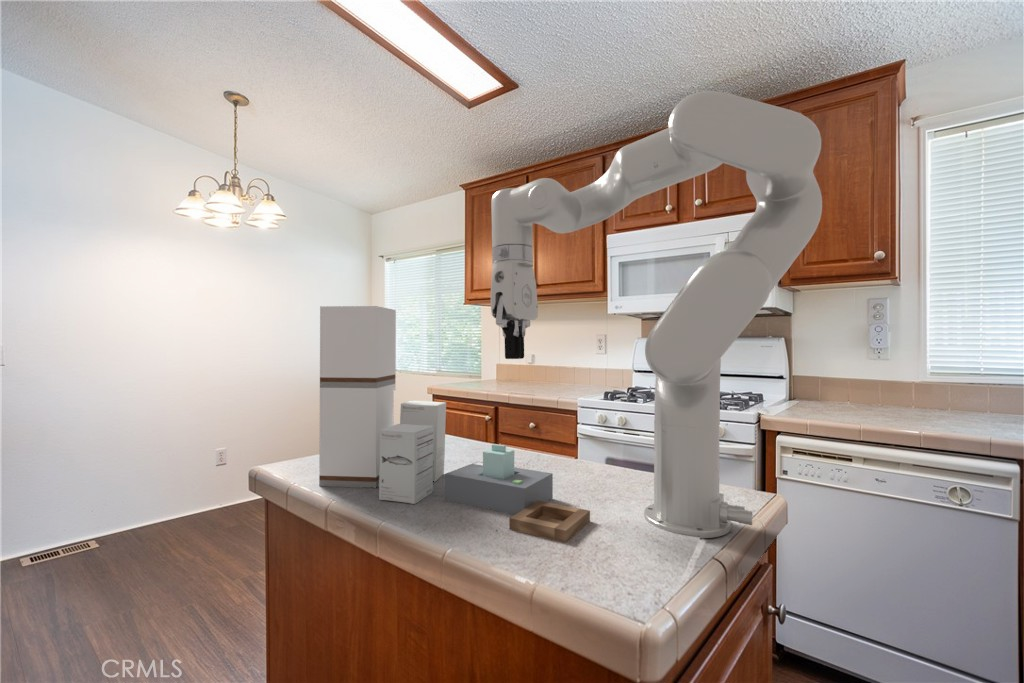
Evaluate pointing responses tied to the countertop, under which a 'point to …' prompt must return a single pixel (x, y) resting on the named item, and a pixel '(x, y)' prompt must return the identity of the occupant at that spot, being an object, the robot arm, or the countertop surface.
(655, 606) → the countertop surface
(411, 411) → the skincare box
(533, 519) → the square wooden tray
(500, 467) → the plug
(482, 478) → the panel
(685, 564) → the countertop surface
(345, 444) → the white striped tall box
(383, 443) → the supplement box
